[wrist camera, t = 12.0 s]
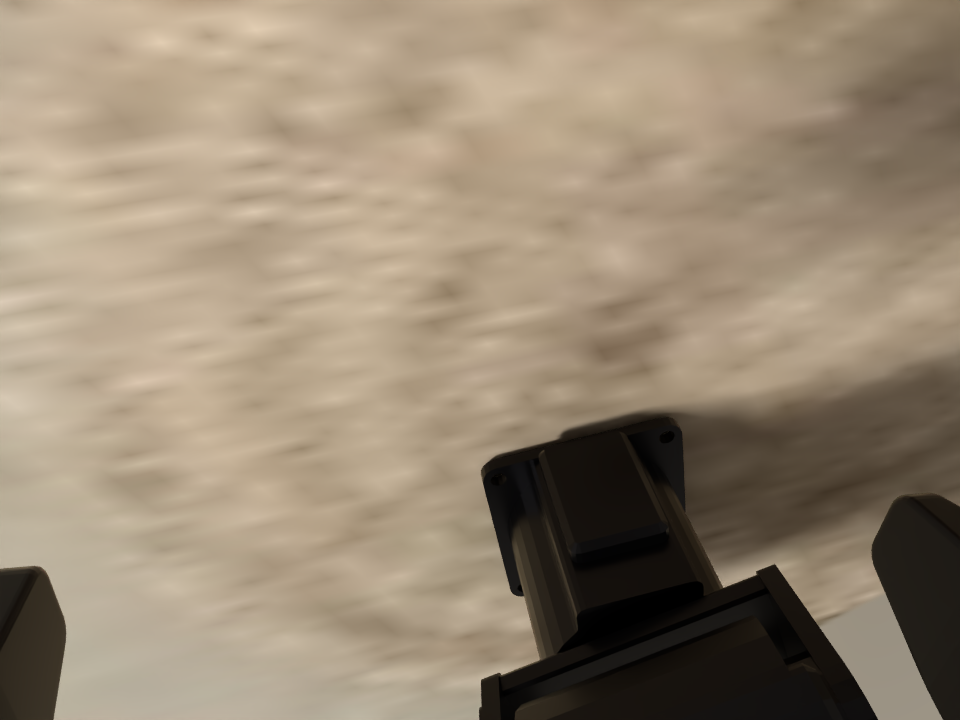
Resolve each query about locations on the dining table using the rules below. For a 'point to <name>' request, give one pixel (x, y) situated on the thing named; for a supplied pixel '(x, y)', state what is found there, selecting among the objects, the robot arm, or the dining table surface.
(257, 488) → the dining table surface
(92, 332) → the dining table surface
